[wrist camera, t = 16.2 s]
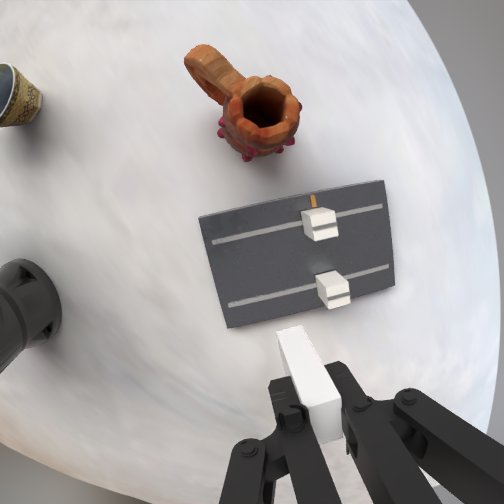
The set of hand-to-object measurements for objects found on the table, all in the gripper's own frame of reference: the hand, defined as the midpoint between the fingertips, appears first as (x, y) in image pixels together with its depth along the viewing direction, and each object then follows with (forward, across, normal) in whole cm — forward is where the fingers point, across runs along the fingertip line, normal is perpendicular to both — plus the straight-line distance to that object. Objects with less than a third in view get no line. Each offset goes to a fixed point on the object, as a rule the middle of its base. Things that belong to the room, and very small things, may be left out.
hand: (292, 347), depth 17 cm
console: (+26, +7, -2) cm, 27 cm away
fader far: (+23, +9, -7) cm, 26 cm away
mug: (+26, +2, +18) cm, 32 cm away
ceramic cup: (+28, -32, +32) cm, 53 cm away
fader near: (+23, +9, +2) cm, 25 cm away
